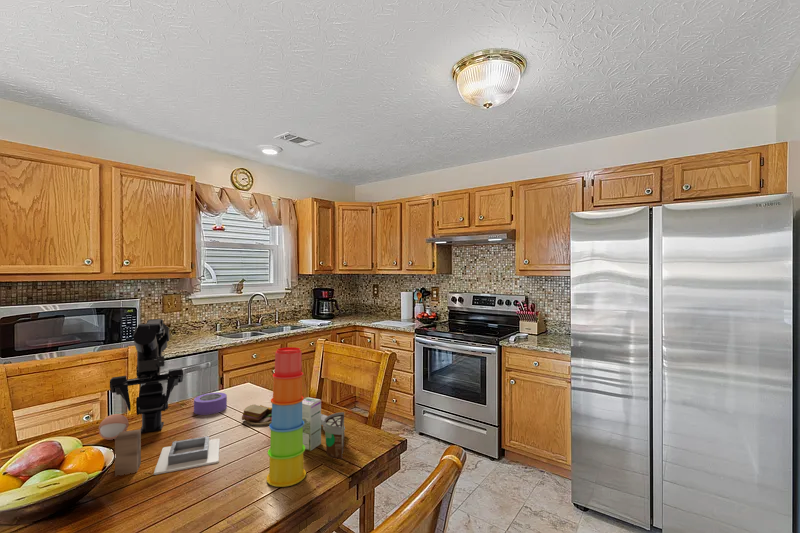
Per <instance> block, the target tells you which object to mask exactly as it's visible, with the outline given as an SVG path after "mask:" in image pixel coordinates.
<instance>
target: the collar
mask: <svg viewBox="0 0 800 533" xmlns="http://www.w3.org/2000/svg"><path fill="white" fill-rule="evenodd" d="M209 440H210V435H208V436H207V435H206V436H200V437H194V438H189V439H183V440H182V439H181V440H175V441H172V444H171V449H170V452H169V455H168V465H174V464H179V463H185V462H190V461H196V460H201V459H207V458H208V450H209ZM201 446H204V449H201V450H195V451H190V452H184V453H178V454H175V453H176V451H178V450H183V449H189V448H195V447H201Z"/></svg>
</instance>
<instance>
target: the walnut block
mask: <svg viewBox="0 0 800 533" xmlns="http://www.w3.org/2000/svg"><path fill="white" fill-rule="evenodd" d="M141 439H142V433H141V428H139V429H133V430H126V431H125V432H120V433H119V434H118V436H117V437H116V439H114V455H115V454H116V459H115V458H114V477H118V476H117V475H120V476H125V475H130V473H131V474H134V473H135V472H136V473H138V471H139V468H140V466H141V464H142V463H141V462H142V461H141V460H142V456H141V455H142V451H141V450H142V447H141V446H142V443H141V442H142V440H141ZM136 473H135V474H136ZM124 474H125V475H124Z"/></svg>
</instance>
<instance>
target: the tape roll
mask: <svg viewBox="0 0 800 533" xmlns="http://www.w3.org/2000/svg"><path fill="white" fill-rule="evenodd" d="M227 396H228V395H227V394H226V392H207V393H203V394H201V395H198V396H196V397H194V399H193V413H194V414H195V415H199V416H205V415H206V416H207V415H209V416H210V415H214V414H218V413H221V412H223V411H225V410H226V409H227V408H228V405H227V403H228V399H227V398H228V397H227Z"/></svg>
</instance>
